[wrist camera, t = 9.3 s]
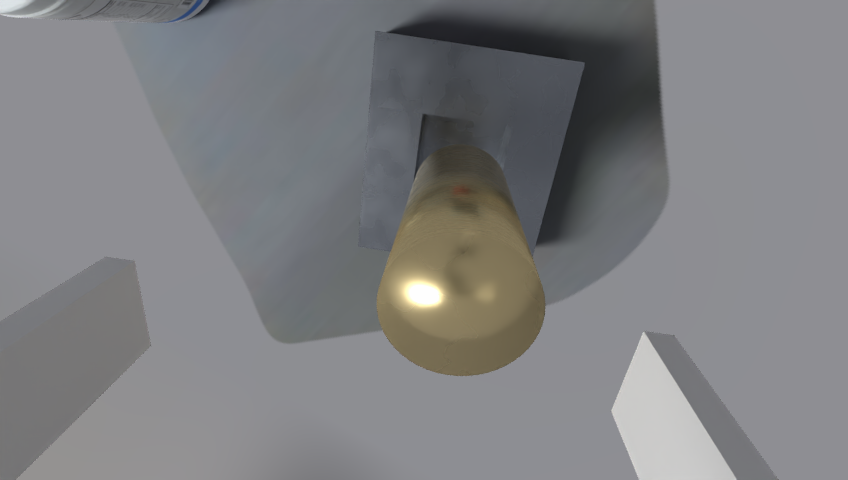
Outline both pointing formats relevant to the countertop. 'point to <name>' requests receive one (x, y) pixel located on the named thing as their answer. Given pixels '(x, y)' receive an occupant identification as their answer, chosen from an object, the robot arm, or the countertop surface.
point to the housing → (462, 123)
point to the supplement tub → (104, 10)
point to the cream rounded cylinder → (460, 270)
